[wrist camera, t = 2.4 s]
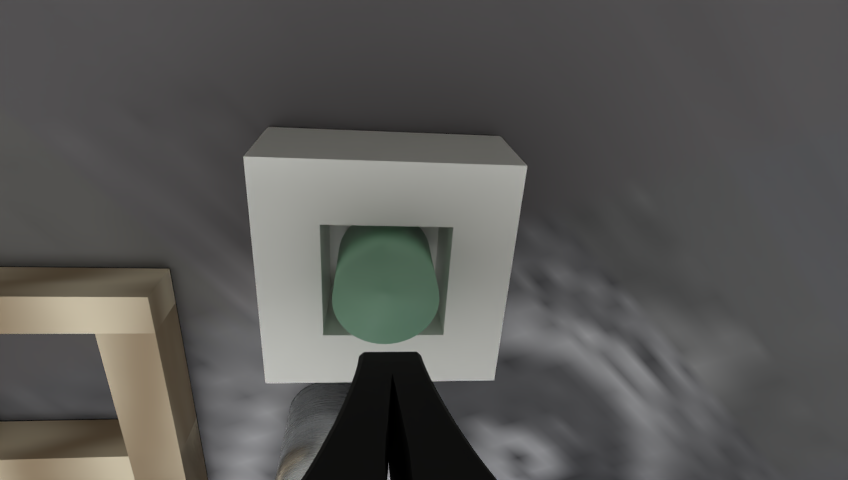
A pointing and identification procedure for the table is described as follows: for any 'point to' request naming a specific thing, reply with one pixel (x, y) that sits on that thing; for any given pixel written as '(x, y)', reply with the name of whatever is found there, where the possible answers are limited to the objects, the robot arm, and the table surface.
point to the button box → (380, 206)
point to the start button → (385, 283)
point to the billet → (309, 426)
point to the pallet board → (126, 373)
